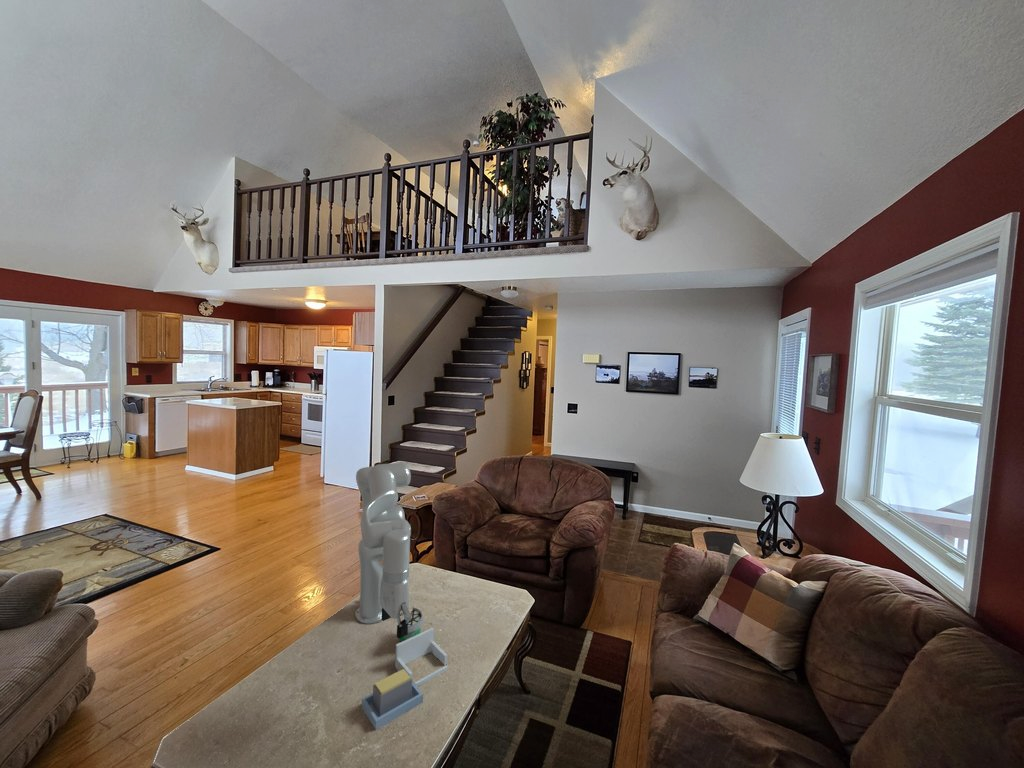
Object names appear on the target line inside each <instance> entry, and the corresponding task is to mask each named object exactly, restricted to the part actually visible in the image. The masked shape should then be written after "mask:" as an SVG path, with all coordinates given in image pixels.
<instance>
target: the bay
mask: <svg viewBox="0 0 1024 768" xmlns="http://www.w3.org/2000/svg"><path fill="white" fill-rule="evenodd" d="M429 653H431V654H433V655H434V657H436V659H437V658H438V659H439V660H440V661H441V662H442V663H443V664H444V665H445V666H444V665H443V664H442V663H441V662H440V661H439V660H438V659H437V660H438V661H439V662H440V663H441V664H442V665H443V666H442V667H440V668H439V669H437V670H435V671H433V672H431V673H429V674H428V675H426V676H424V677H422V678H420V679H418V680H417V681H415V682H414V684H415V685H416V686H417V687H418V688H419V687H420V686H421V685H423V684H425V683H427V682H428V681H430V680H432V679H435V678H436V677H437V676H439V675H442V674H443V673H445V672H447V671H448V670H449V665H448V654H447V653H446V652H445V651H444V650H443V649H442V647H440V646H439V645H438V644H437V643H436V642H435V628H434V627H430V628H429V629H427V630H425V631H421V632H420V634H418V635H416V636H413V637H411V638H409V639H407V640H405V641H403V642H401V643H399V642H398V643H396V644H395V660H394V661H395V662H394V663H395V669H396V670H397V672H398V671H400V670H402V669H404V670H405V671H406V672H407V673H408V675H409V676H410V677H411V678H412V679H413V672H412V670H411V669H410V668H409V667H408V666H407V663H408V664H409V662H410V663H411V661H412V662H413V660H414V661H415V660H418V659H419V658H421V657H423V656H425V655H428V654H429ZM422 655H423V656H422ZM420 656H421V657H420ZM418 657H419V658H418ZM405 664H406V665H405ZM446 664H447V665H446Z"/></svg>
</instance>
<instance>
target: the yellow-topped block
mask: <svg viewBox="0 0 1024 768" xmlns="http://www.w3.org/2000/svg"><path fill="white" fill-rule="evenodd" d="M412 681H413V677H412V678H411V677H410V676H409V675H408V673H407V672H406V671H405V670H404V669H402V670H400V671H398V670H397V672H394V673H392V674H391V675H388V676H386V677H385V678H383V679H380V680H379V681H377V682H375V683H374V684H373V685H372V693H373V706H374V708H375V710H376V711H377V713H378V714H379V716H382V715H384V714H385V713H387V712H389V711H391V710H392V709H394V708H396V707H398V706H399V705H401V704H403V703H405V702H406V701H408V700H410V699H412Z"/></svg>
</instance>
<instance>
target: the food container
mask: <svg viewBox="0 0 1024 768" xmlns="http://www.w3.org/2000/svg"><path fill="white" fill-rule="evenodd" d="M410 614H411V619H410V622H409V623H408V634H407V635H406V636H404V637H402V638H399V639H398V643H401V642H403V641H405V640H407V639H409V638H411V637H413V636H416V635H418V634H420V633H422V631H421V630H422V626H423V624H424V616H423V614H422V611H421V610H420V609H418V608H416V607H414V606H413V607H412V610H411V612H410Z"/></svg>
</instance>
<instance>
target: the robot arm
mask: <svg viewBox="0 0 1024 768" xmlns="http://www.w3.org/2000/svg"><path fill="white" fill-rule="evenodd" d="M411 475H412V473H411V470H410V467H409V466H408V464H406V463H404V462H395V463H381V464H376V465H374V466H367V467H361V468H360V469H358V470H357V471H356V474H355V480H356V484H357V487H358V490H359V492H360V495H361V500H362V501H361V503H362V505H361V506H362V508H361V509H362V510H361V511H362V513H361V515H360V531H361V539H360V541H359V542H358V544H357V546H358V549H357V551H358V557H359V564H360V565H359V566H360V567H359V569H360V570H359V572H360V573H359V575H360V578H359V607H358V608H357V609H356V611H355V619H356V621H358V623H359V622H360V623H362V624H367V625H369V624H376V623H379V622H382V621H383V622H384V621H386V620H389V619H391V618H392V619H394V620H395V619H396V621H397V624H398V625H396V639H397V640H399V638H402V637H404V636H406V635H407V634H408V623H409V622H410V619H411V614H410V613H411V612H410V610H409V609H410V608H409V607H410V590H409V589H410V588H409V578H410V556H411V555H410V554H411V553H410V550H411V535H412V527H411V524H410V523H409V521H408V520H406V516H405V510H404V509H403V507H402V506H401V505H397V503H398V500H399V494H398V489H397V488H404V487H407V486H409V485H410V484H411V481H412V479H411V478H412V476H411ZM401 612H402V613H401ZM401 616H403V618H404V619H402V620H401Z"/></svg>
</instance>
